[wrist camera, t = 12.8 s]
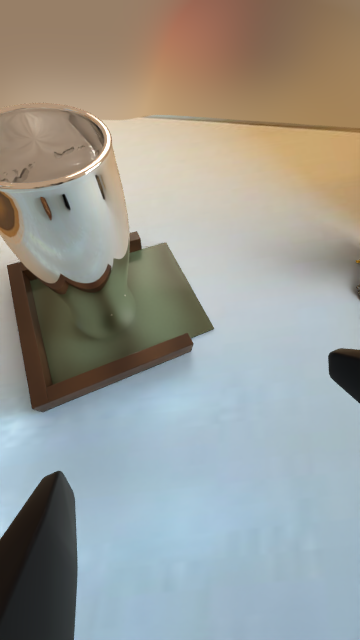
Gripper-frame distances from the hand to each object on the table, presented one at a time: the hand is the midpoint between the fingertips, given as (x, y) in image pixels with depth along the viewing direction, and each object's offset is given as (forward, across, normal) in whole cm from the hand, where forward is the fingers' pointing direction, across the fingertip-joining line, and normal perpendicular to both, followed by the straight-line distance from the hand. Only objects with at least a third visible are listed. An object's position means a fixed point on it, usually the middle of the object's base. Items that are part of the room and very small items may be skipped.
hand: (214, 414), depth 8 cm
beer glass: (+19, +3, 0) cm, 19 cm away
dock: (+19, +3, 0) cm, 19 cm away
